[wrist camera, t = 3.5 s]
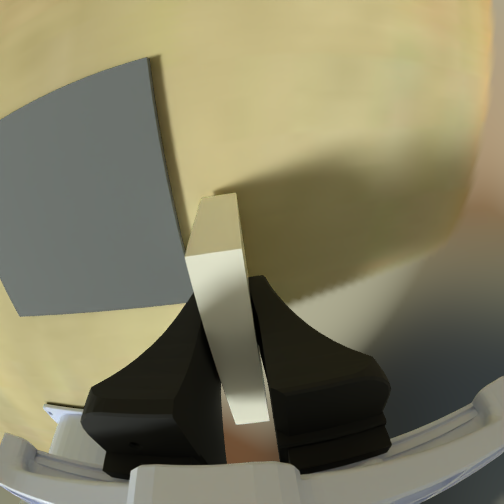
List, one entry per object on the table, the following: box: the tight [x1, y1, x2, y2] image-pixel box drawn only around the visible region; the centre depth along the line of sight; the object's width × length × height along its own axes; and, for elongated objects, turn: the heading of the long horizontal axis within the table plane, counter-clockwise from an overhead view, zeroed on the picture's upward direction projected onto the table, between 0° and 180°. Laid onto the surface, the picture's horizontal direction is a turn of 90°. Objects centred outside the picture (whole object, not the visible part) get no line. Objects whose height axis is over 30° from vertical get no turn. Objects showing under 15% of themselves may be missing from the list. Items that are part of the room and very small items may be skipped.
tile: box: [185, 193, 269, 425], centre depth 11 cm, size 8×1×5 cm, turn 7°
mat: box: [0, 57, 194, 317], centre depth 11 cm, size 11×12×1 cm
